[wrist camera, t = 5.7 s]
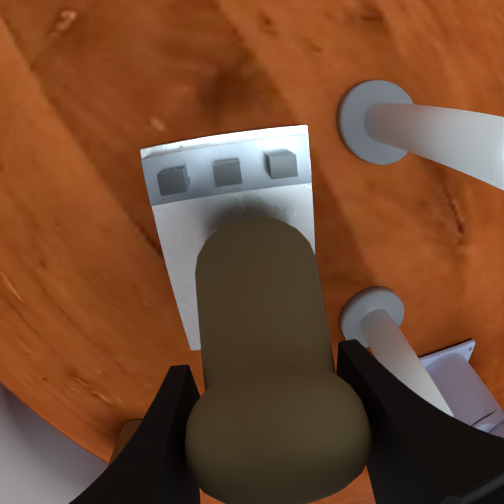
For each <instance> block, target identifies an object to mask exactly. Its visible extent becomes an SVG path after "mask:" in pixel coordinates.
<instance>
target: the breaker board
mask: <svg viewBox="0 0 504 504" xmlns="http://www.w3.org/2000/svg"><path fill="white" fill-rule="evenodd" d="M140 152H141V157H142V159H141V162H142V167H143V172H144V177H145V182H146V187H147V191H148V196H149V200H150V205H151V206H152V209H153V214H154V218H155V222H156V227H157V231H158V235H159V239H160V243H161V247H162V251H163V255H164V259H165V263H166V266H167V270H168V274H169V278H170V281H171V285H172V288H173V292H174V295H175V299H176V302H177V306H178V309H179V313H180V316H181V319H182V323H183V326H184V329H185V333H186V336H187V339H188V342H189V345H190V348H191V351H193V350H201V344H200V333H199V321H198V309H197V296H196V281H195V269H196V262H197V256H198V254H199V252H200V250H201V248H202V247H203V245H204V243H205V241H206V240H207V239H208V238H209V237H210V236H211V235H212V234H214V233H215V232H216V231H217V230H218V229H219V228H220V227H222V226H225V225H227V224H229V223H231V222H233V221H236V220H238V219H243V218H251V217H259V216H261V217H266V218H272V219H278V220H281V221H283V222H285V223H287V224H289V225H291V226H293V227H295V228H296V229H298V230H299V231H300V232H301V233H302V235H303V236H304V237H305V238H306V239H307V240H308V241H309V242H310V245H311V247H312V249H313V252H314V254H315V237H314V216H313V197H312V181H311V167H310V154H309V142H308V130H307V125H292V126H281V127H271V128H262V129H254V130H245V131H238V132H230V133H223V134H217V135H210V136H204V137H198V138H192V139H186V140H181V141H175V142H170V143H165V144H160V145H155V146H150V147H145V148H142V149H141V150H140Z"/></svg>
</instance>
